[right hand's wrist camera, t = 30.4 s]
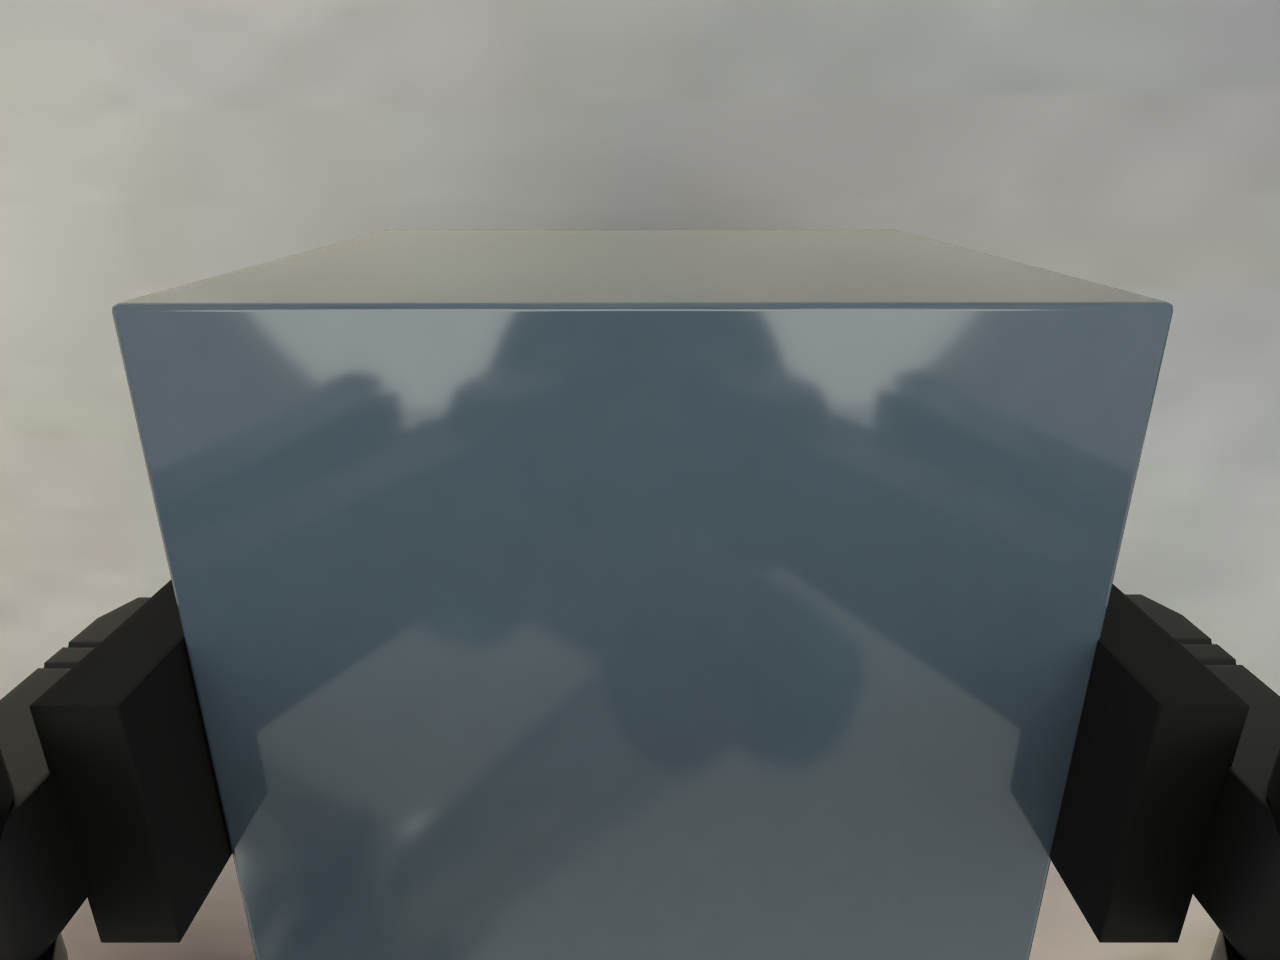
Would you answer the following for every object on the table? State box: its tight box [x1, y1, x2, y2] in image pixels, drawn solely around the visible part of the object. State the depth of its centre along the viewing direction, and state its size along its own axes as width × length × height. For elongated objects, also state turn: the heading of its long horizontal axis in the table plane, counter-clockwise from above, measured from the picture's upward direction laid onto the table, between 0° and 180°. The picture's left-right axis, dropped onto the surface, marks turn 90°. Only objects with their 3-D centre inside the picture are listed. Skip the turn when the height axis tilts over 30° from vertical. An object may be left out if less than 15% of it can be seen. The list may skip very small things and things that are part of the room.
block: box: [112, 230, 1173, 960], centre depth 12 cm, size 9×9×8 cm
